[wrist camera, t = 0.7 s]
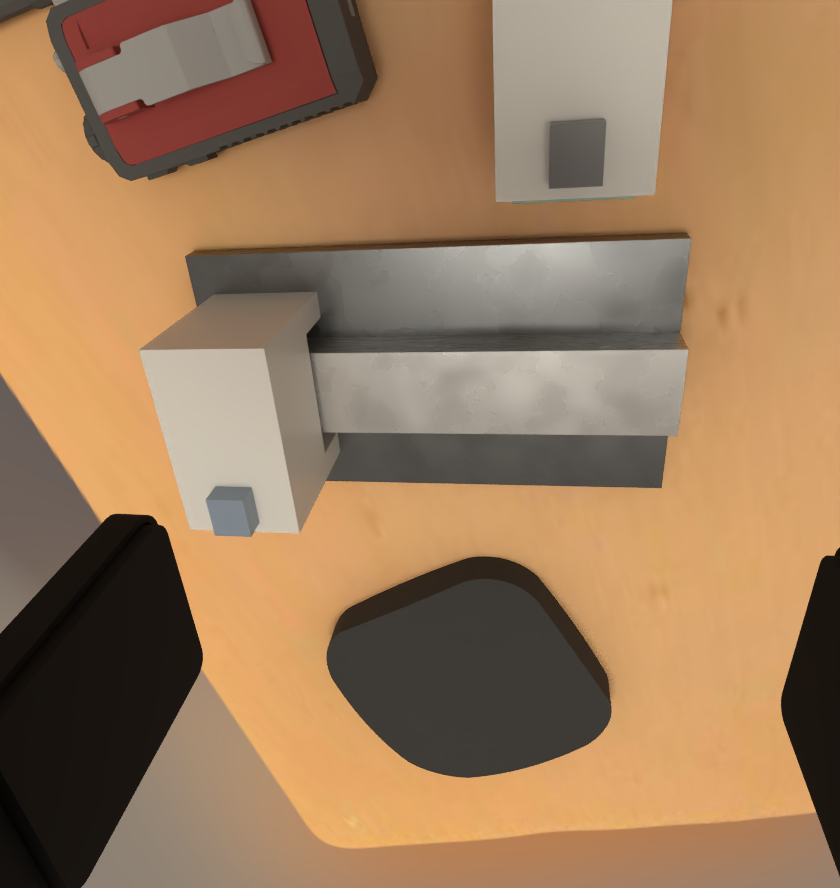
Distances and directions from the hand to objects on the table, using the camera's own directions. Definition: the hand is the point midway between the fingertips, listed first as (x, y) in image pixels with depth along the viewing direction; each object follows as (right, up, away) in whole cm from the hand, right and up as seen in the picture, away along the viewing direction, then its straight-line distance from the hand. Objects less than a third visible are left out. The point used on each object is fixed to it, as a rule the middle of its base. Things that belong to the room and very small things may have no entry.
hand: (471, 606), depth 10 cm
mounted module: (-8, +6, +24) cm, 25 cm away
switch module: (+5, +17, +16) cm, 24 cm away
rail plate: (0, +6, +23) cm, 24 cm away
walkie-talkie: (-12, +19, +19) cm, 29 cm away
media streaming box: (+2, -11, +33) cm, 35 cm away
